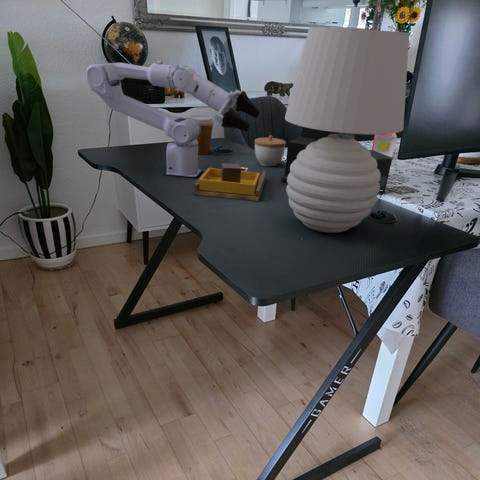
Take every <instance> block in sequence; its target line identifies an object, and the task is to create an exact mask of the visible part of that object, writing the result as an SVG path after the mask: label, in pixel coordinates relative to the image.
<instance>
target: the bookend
mask: <svg viewBox="0 0 480 480" xmlns="http://www.w3.org/2000/svg"><path fill="white" fill-rule="evenodd" d="M330 134H339V132H330V131H323V130H317V129H311V128H307V127H302V126H301V133H300V136H299V137H296V138H294V139H291V140H289V141H288V142H287V149H286V157H285V169H284V173H283V174H282V176H281V178H280V179H281V180H280V181H281V182H285V183H287V177H288V174H289V173H290V166H291V164H292V162H293V161H294V160H296V159H297V155H298V154H299V152H300V151H302V150H304V149H306V147H307V146H308V145H309V144H310V143H312V142H316V141H318V140H319V139H321V138H325V137H328V135H330ZM343 135H346V133H343Z"/></svg>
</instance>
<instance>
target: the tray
mask: <svg viewBox="0 0 480 480" xmlns="http://www.w3.org/2000/svg"><path fill="white" fill-rule="evenodd" d="M240 167H241V179H240V183H236V182H225V181H221V168H216V167H215V168H214V167H213V168H208V167H207V168H208V170H207V171H206V172H205V171H204V172H205V173H204V172H203V173H204V175H203V176H202V177H201V176H200V177H201V178H200V177H199V178H200V179H199V178H198V179H199V190H207V191H217V192H227V193H237V194H247V195H254V194H255V191H256V189H257V186H258V183H259V176H261V173H260V172H256V171H249V167H244V166H240Z"/></svg>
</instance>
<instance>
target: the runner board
mask: <svg viewBox="0 0 480 480" xmlns="http://www.w3.org/2000/svg"><path fill="white" fill-rule="evenodd" d="M208 168H214V167H213V165H209V166H208V167H207V168H206V169H205V170H204V172H202V174H201V175H200V176H199V177H198V178H197V180H196V181H195V182H194V183H193V195H194V196H195V195H196V196H205V197H214V198H225V199H235V200H245V201H254V202H255V201H256V202H258V201H260V198H261V195H262V192H263V189H264V186H265V184H266V180H267V170H263V171H262V173H261V175H260V176H259V183H258V186H257V189H256V191H255V194H254V195H247V194H237V193H227V192H217V191H207V190H199V179H200V178H201V177H202V176H203V175H204V173H205V172H206V171H207V170H208Z"/></svg>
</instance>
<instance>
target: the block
mask: <svg viewBox="0 0 480 480" xmlns="http://www.w3.org/2000/svg"><path fill="white" fill-rule="evenodd" d="M220 167H221V168H220V169H221V181H225V182H236V183H240V179H241V167H242V166H241V165H240V164H239V163H223V162H221V166H220Z"/></svg>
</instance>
